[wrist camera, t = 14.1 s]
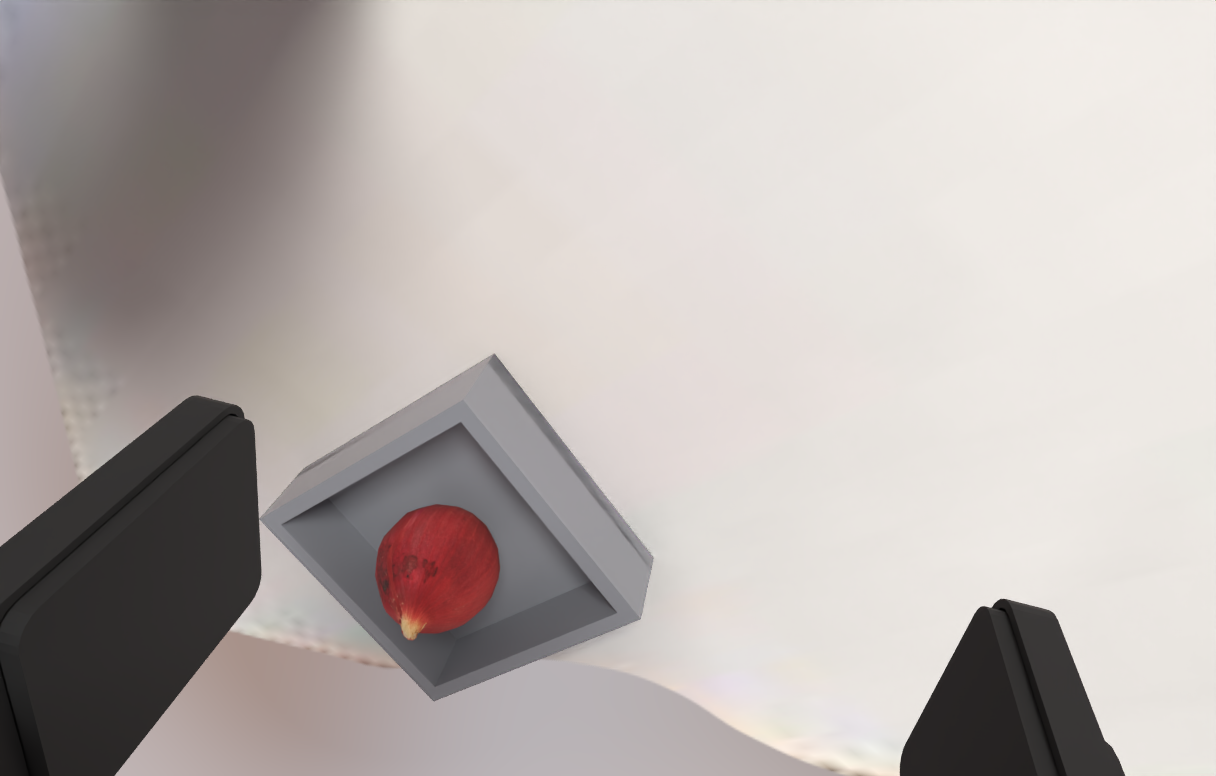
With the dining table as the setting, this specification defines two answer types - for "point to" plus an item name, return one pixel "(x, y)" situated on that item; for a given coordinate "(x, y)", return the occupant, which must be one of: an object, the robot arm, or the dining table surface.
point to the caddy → (501, 498)
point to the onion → (436, 569)
